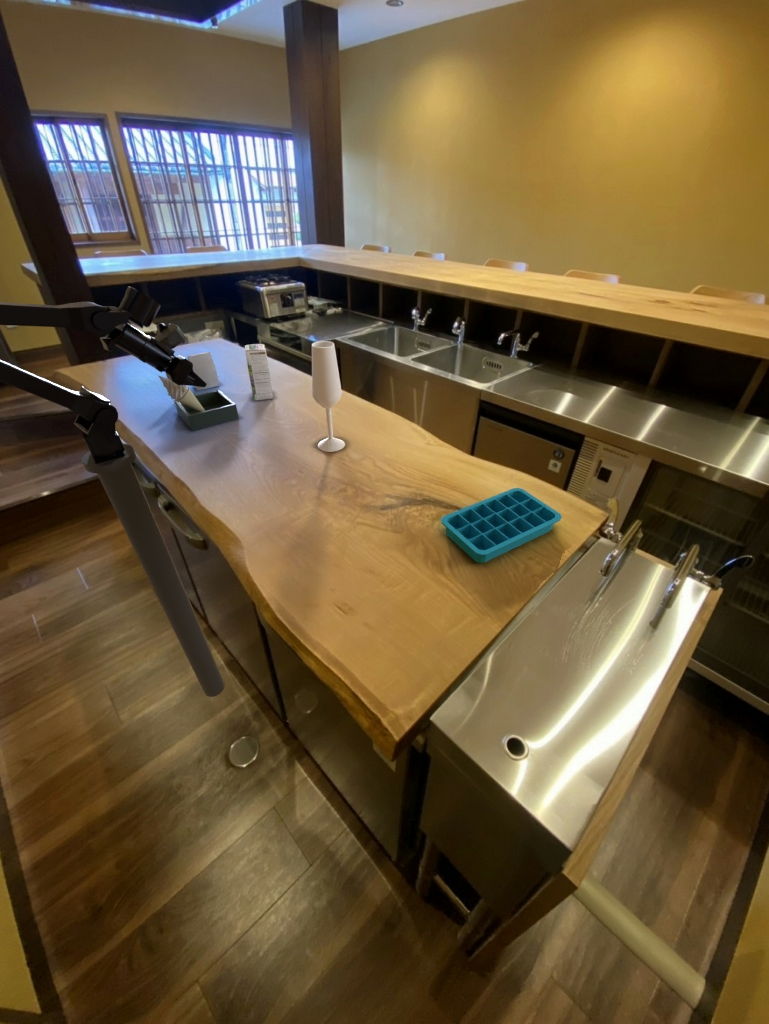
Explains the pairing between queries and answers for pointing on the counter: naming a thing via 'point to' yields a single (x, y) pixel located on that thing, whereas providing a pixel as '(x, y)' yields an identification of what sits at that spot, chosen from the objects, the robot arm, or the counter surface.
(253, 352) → the syrup box
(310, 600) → the counter surface
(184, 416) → the bin
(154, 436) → the counter surface
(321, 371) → the champagne flute
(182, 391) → the ice cream cone
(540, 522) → the ice cube tray
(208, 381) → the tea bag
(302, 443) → the counter surface
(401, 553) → the counter surface
